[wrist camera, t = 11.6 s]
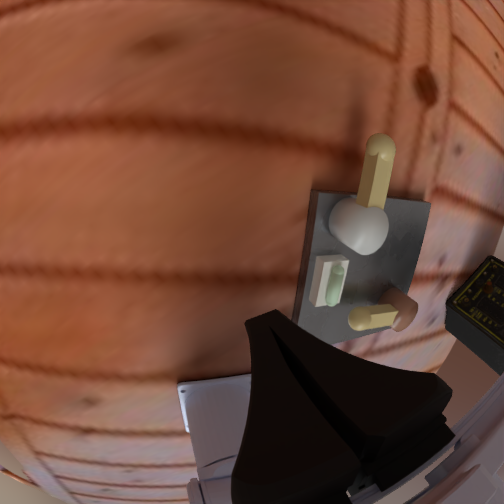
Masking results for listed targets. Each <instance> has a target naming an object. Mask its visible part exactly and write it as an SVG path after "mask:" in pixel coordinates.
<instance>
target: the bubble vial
mask: <svg viewBox="0 0 504 504" xmlns="http://www.w3.org/2000/svg"><path fill="white" fill-rule="evenodd" d="M348 264H349V260H348V259H347V258H346V257H344V256H343V255H341V254H340V255H324V256H317V257H316V262H315V268H314V274H313V279H312V285H311V290H310V295H309V301H310V302H311V303H312V304H313V305H314V306H315V307H319V306H325V305H328V306H331V307H332V306H335V305H336V304H337V303H339V302H340V298H341V294H342V290H343V286H344V282H345V277H346V273H347V268H348Z"/></svg>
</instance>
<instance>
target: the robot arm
mask: <svg viewBox="0 0 504 504" xmlns="http://www.w3.org/2000/svg"><path fill="white" fill-rule="evenodd" d="M244 324H245V327H246V330H247V333H248V336H249V342H250V352H251V374H246V375H240V376H233V377H226V378H218V379H210V380H202V381H192V382H181V383H179V384H178V385H177V388H178V394H179V399H180V405H181V410H182V415H183V419H184V424H185V429H186V431H187V432H190V437H191V442H192V446H193V451H194V455H195V460H196V464H197V472H198V476H199V480H200V481H198V480H197V478H192V479H190V482H189V483H188V484H187V492H188V497H189V502H190V504H373V503H375V502H376V501H378V500H380V499H382V498H383V497H385V496H387V495H388V494H390V493H391V492H393V491H395V490H396V489H398V488H399V487H401V486H402V485H404V484H405V483H406V482H408V481H410V480H411V479H412V478H414V477H415V476H416V475H418V474H419V473H421V472H422V471H423V470H424V469H426V468H427V467H428V466H430V465H431V464H432V463H433V462H435V461H436V460H437V459H438V458H440V457H441V456H442V455H443V454H444V453H445V452H446V451H448V450H449V449H450V448H451V447H452V446H453V445H454V444H455V446H454V451H453V452H452V453H451V454H450V455H449V456H448V457H447V458H446V459H445V460H444V461H442V462H441V463H440V464H439V465H438V466H437V467H436V468H435V469H433V470H432V471H431V472H430V473H429V474H427V475H426V476H425V479H426V481H427V482H428V483H429V486H428V487H426V488H425V489H424V490H422V491H421V492H419V493H418V494H417V495H415V496H414V497H412V498H411V499H410V500H408V501H406V502H405V503H403V504H504V482H503V481H502V480H501V478H500V477H499V476H498V475H497V473H496V472H497V471H498V470H499V468H500V467H501V466H502V464H503V463H504V372H503V374H502V375H501V376H500V377H499V378H498V380H497V381H496V382H495V383H494V385H493V386H492V387H491V388H490V389H489V390H488V391H487V392H486V394H485V395H484V396H483V397H482V398H481V399H480V400H479V401H478V402H477V403H476V404H475V405H474V406H473V407H472V408H471V409H470V410H469V411H468V412H467V413H466V415H464V416H463V417H462V418H461V419H460V420H459V421H458V422H457V423H456V424H455V425H454V426H453V427H452V428H449V427H448V426H447V425H446V424H445V422H446V417H445V416H444V415H443V414H442V412H443V410H444V409H445V407H446V406H447V404H448V402H449V401H450V399H451V397H452V389H451V388H450V387H449V386H448V385H447V384H446V383H445V382H444V381H443V380H442V379H441V378H440V377H438V376H437V375H436V374H435V373H426V372H417V371H408V370H402V369H397V368H392V367H388V366H385V365H381V364H377V363H374V362H370V361H367V360H364V359H362V358H359V357H356V356H354V355H351V354H349V353H346V352H344V351H342V350H340V349H338V348H336V347H333V346H332V345H330V344H328V343H326V342H324V341H322V340H320V339H319V338H317V337H315V336H314V335H312V334H310V333H309V332H307V331H306V330H304V329H303V328H301V327H300V326H298V325H297V324H295V323H294V322H292V321H291V320H290V319H288V318H287V317H286V316H285V315H283V314H282V313H281V312H280V311H278V310H276V309H275V310H273V311H270V312H267V313H265V314H262V315H259V316H257V317H254V318H251V319H248V320H246V322H245V323H244ZM347 490H348V492H349V493H350V495H351V497H348V495H347V494H346V491H347Z"/></svg>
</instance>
